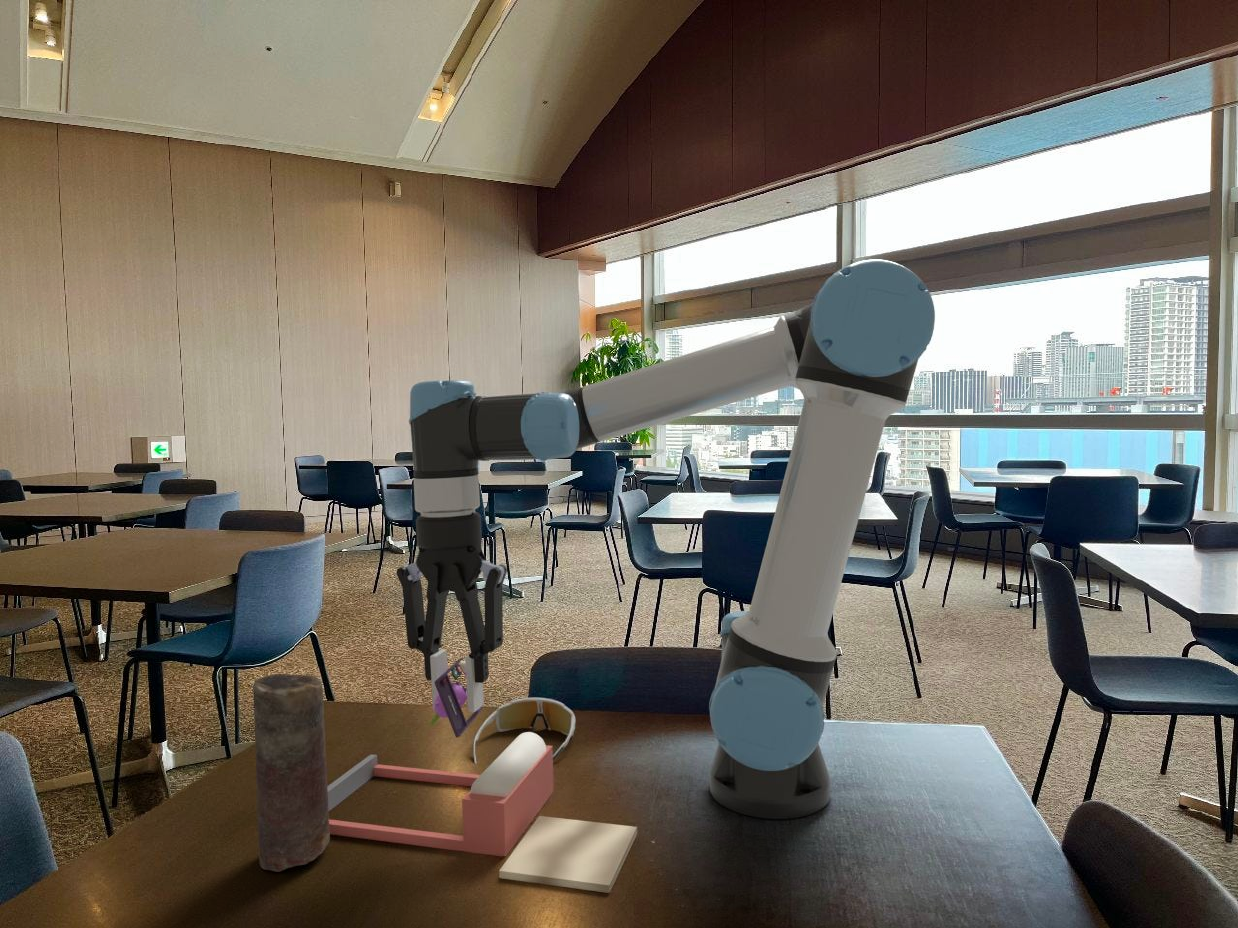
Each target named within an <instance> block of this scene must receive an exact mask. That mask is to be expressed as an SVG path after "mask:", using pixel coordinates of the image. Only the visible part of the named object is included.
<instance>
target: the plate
mask: <svg viewBox="0 0 1238 928" xmlns="http://www.w3.org/2000/svg"><path fill="white" fill-rule="evenodd" d="M637 835H638V826H631V825H623V824H615V823H614V824H613V823H605V822H595V821H588V820H587V821H586V820H581V819H570V818H563V817H562V818H561V817H555V816H554V817H552V816H543V815H538V817H537V818H536V820H535V821H534V823H532V825H531V826H530V828H529V829H528V830H527V832H526V833H525V835H524V836H523V837H522V839H521V840H520V842H519V843H518V844H517V846H516V847H515V848H514V850H513V851H512V853H511V854H510V856H508V858H507V859H506V860H505V862H504V864H503V865H502V866H501V868H500V869H499V870H498V871H499V872H498V873H499V874H498V875H499V879H504V880H511V881H518V882H519V881H520V882H526V883H533V884H541V885H548V886H553V887H556V886H557V887H563V888H570V889H578V890H583V891H584V890H585V891H593V892H599V893H605V894H610V893H611V890H612V889H613V886H614V884H615V882H616V880H617V878H618V876H619V874H620V872H621V870H622V867H623V865H624V864H625V863H624V862H625V861H626V859H627V856H628V854H629V852H630V850H631V847H632V846H633V844H634V841H635V839H636V837H637Z"/></svg>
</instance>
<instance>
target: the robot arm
mask: <svg viewBox="0 0 1238 928" xmlns="http://www.w3.org/2000/svg"><path fill="white" fill-rule="evenodd" d="M931 295H932V294H931V293H930V291H929V289H928V288H927V286H926V284H925V283H924V282H923V280H922V279H921V278H920V277H919V276H918V275H917V274H916V273H915V272H913V271H912V270H911V269H909V268H907V267H906V266H904V265H901V264H900V263H897V262H894V261H890V260H886V259H867V260H866V259H865V260H861V261H857V262H853V263H851V264H849V265H847V266H845V267H842V268H841V269H838V271H836V272H834V273H833V274H832V275H830V276H829V277H828V278H827V279H826V280H825V282H824V283H823V284H822V285H821V286H820V288H819V290H818V292H817V293H816V294H815V296H814V299H813V302H812V303H811V304H808V305H807V306H804V307H802V308H800V309H797V310H795V311H793V312H788V313H785V314H782V315H780V316H779V318H778V320H777V322H776V323H775V325H774V326H772V327H769V328H767V329H763V330H759V331H756V332H753V333H749V334H747V335H744V336H740V337H737V338H733V339H731V340H728V341H725V342H721V343H718V344H715V345H711V346H708V347H705V348H702V349H699V350H695V351H692V352H690V353H687V354H683V355H680V356H677V357H673V358H670V359H667V360H664V361H660V362H658V363H654V364H650V365H648V366H645V367H642V368H638V369H635V370H632V371H628V372H625V373H623V374H622V373H621V374H619V375H617V376H613V377H610V378H607V379H604V380H600V381H598V382H594V383H591V384H587V385H585V386H581V387H577V388H574V389H572V390H568V391H564V392H561V393H560V392H558V393H557V392H544V391H542V392H536V393H524V394H520V393H519V394H510V395H509V394H507V395H498V396H496V395H495V396H483V395H477V393H476V392H475V386H474V384H473V382H471V380H470V381H469V380H457V379H455V380H452V379H451V380H431V381H429V380H428V381H420V382H418V383H415V384H413V386H411V389H410V394H409V396H410V398H409V401H410V402H409V420H408V424H409V425H410V436H411V437H410V438H411V450H412V464H413V465H412V466H413V472H412V473H413V492H414V493H413V494H414V496H413V497H414V510H415V511H416V512H417V513H420V515H418V516H417V518H416V519H415V527H416V529H415V530H416V532H415V533H416V544H417V546H418V553H417V556H416V559H415V562H412V563H410V564H406V565H404V566H401V567H398V568H397V569H396V576H397V578H398V581H399V583H400V585H401V588H402V589H401V590H402V598H403V607H404V608H403V609H404V618H405V628H406V630H405V631H406V639H407V646H408V648H409V649H411V650H415V649H416V650H418V651H420V652H421V653H422V654H423V658H424V660H423V661H424V662H423V663H424V674H425V675H424V676H425V679H426V681H431V696H432V697H431V699H432V711H435V710H434V703H435V700H436V698H437V696H438V694H439V693H438V691H437V688H436V686H435V681H436V680H437V679H438V678H439V677H440V676H441V675H442V674H443V673H444V672H446V671H447V670H448V669H449V668H448V651H447V649H441V648H442V647H443V646H444V643H442V637H443V628H444V620H445V613H446V605H447V604H446V603H447V598H448V595H449V594H450V592H452V593H454V594H455V598H456V601H458V602H459V607H460V609H461V610H460V611H461V615H462V619H463V625H464V628H465V632H466V637H467V640H468V645H469V649H470V653H469V654H468V655H467V656H465V659H464V661H465V662H466V676H465V679H466V687H467V691H466V694H467V699H466V700H467V712H468V713H472V714H473V713H474V712H476V711H477V710H478V709H479V708H480V707H482V708H483V706H484V705H485V701H484V700H485V699H484V683H485V681H487V680H488V679H489V675H490V671H489V653H492V652H493V651H495V650H497V649H499V648H500V647H501V646H502V645H503V642H504V630H503V627H504V626H503V625H504V624H503V623H504V622H503V619H504V615H503V614H504V611H503V609H504V608H503V604H504V603H503V600H504V599H503V584H504V581H505V578H506V576H507V574H508V573H507V572H508V567H506V565H504V564H500V565H497V564H493V562H489V561H487V559H486V556H485V554H484V552H483V549H482V545H483V544H482V543H483V542H482V541H483V536H482V516H481V514H480V512H477V511H476V509H478V508H479V507H480V506H481V502H480V501H481V499H480V481H479V473H480V472H479V461H481V462H489V461H520V460H521V461H524V460H527V461H528V460H540V461H548V460H549V461H550V460H554V459H563V458H564V459H565V458H568V457H571V456H572V455H573V454H575V452H576V451H577V450H579V449H582V448H586V447H589V446H592V445H596V444H598V443H602V442H605V441H608V440H611V439H615V438H618V437H621V436H625V435H629V434H631V433H632V434H633V433H635V432H639V431H642V430H646V429H648V428H652V427H656V426H659V425H663V424H667V423H670V422H673V421H676V420H679V419H683V418H687V417H689V416H693V415H698V414H700V413H704V412H706V411H707V412H708V411H710V410H714V409H716V408H717V409H718V408H719V407H724V406H727V405H731V404H734V403H738V402H740V401H745V400H748V399H751V398H755V397H759V396H761V395H765V394H767V393H771V392H775V391H779V390H782V389H785V388H788V387H792V388H796V389H797V390H799V391H800V393H801V394H802V396H803V400H804V401H803V405H802V409H801V411H800V416H799V420H798V423H797V428H796V430H795V435H794V439H793V443H792V446H791V450H790V454H789V458H788V463H787V466H786V469H785V474H784V478H783V481H782V485H781V487H780V492H779V496H778V499H777V504H776V507H775V512H774V514H773V515H774V516H773V518H772V522H771V523H772V524H771V527H770V530H769V534H768V539H767V542H766V546H765V549H764V553H763V557H762V561H761V565H760V570H759V573H758V577H757V580H756V584H755V588H754V592H753V595H752V599H751V602H750V607H749V610H741V611H740V610H739V611H732V612H729V613H727V614H726V615H724V616H723V618H722V622H721V631H720V632H719V636H720V638H721V661H720V665H719V670H718V674H717V676H716V677H717V678H716V681H715V685H714V688H713V690H712V692H711V696H710V698H709V704H708V711H709V717H710V723H711V729H712V731H713V734H714V737H715V738H716V740H717V742H718V744H717V747H716V750H715V753H714V757H713V759H712V763H711V765H710V768H709V791H710V794H711V796H712V797H713V799H714V800H715V801H716V802H717V803H719V804H720V805H722V806H723V807H725V808H726V809H729V810H731V811H733V812H736V813H739V814H742V815H745V816H750V817H754V818H761V819H771V820H786V819H796V818H797V819H798V818H801V817H806V816H809V815H813V814H814V813H818V812H819V811H820V810H823V808H825V807H826V806H827V805H828V803H829V802H830V799H831V776H830V774H829V771H828V768H827V765H826V761H825V759H824V756H823V752H822V749H821V746H820V741H821V738H822V735H823V732H824V729H825V721H824V720H825V712H824V704H825V699H826V696H827V692H828V689H829V685H830V681H831V677H832V673H833V670H834V668H835V667H834V666H835V664H836V659H837V655H838V652H837V649H836V648H835V646H834V645H833V643H832V641H831V639H830V638H829V634H828V632H829V629H830V625H831V622H832V617H833V614H834V610H835V606H836V603H837V599H838V595H839V591H840V588H841V585H842V580H843V577H844V574H845V570H846V565H847V562H848V559H849V555H850V552H851V548H852V545H853V540H854V537H855V533H856V530H857V526H858V523H859V519H860V515H861V512H862V507H863V504H864V501H865V496H866V494H867V490H868V486H869V483H870V482H869V481H870V478H871V475H872V471H873V467H874V464H875V460H876V456H877V454H878V449H879V446H880V442H881V438H882V435H883V431H884V427H885V424H886V420H887V419H888V418H889V417H890V416H892V415H893V414H895V413H896V412H898V411H899V410H901V409H903V408H905V407H906V406H907V405H906V404H907V401H908V397H909V395H910V393H909V392H910V390H911V388H912V383H913V380H914V376H915V372H916V369H917V366H918V363H919V362H918V361H919V359H920V358H921V356H923V354H924V353H925V352H926V351H927V347H928V346H929V344H930V343H931V340H932V337H933V335H934V334H933V333H934V330H935V323H936V311H935V305H934V299H933V298H932V296H931ZM481 572H482V574H483V575H482V580H483V581H484V582H485V584H484V595H483V596H484V602H483V603H484V617H483V614H482V610H481V605H480V601H479V596H478V594H479V587H478V583H477V578H478V577H479V575H480V574H481ZM422 576H423V577H424V579H425V580H426V582H427V587H426V588H427V589H426V595H425V597H426V599H427V605H426V611H425V605H424V594H423V586H422V581H421V578H422Z"/></svg>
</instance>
